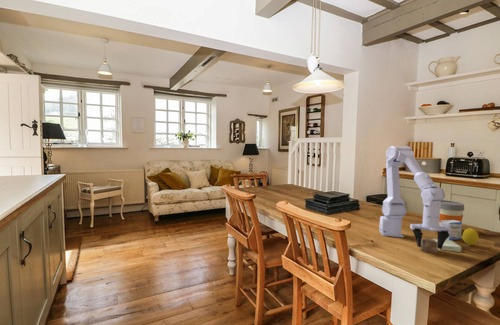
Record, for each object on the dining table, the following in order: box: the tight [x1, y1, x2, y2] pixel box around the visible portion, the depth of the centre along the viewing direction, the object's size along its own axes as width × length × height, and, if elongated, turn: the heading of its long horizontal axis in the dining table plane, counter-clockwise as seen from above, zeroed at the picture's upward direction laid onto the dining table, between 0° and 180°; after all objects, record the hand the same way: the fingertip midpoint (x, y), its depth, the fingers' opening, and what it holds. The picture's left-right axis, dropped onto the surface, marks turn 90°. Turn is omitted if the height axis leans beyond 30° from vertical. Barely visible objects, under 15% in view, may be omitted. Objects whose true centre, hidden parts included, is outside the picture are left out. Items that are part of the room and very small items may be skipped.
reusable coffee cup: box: [439, 199, 465, 226], centre depth 136 cm, size 12×13×15 cm
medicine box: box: [441, 220, 463, 241], centre depth 124 cm, size 8×4×9 cm, turn 105°
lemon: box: [461, 227, 480, 247], centre depth 115 cm, size 6×6×8 cm
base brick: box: [432, 238, 462, 253], centre depth 113 cm, size 8×8×2 cm
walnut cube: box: [420, 237, 439, 254], centre depth 109 cm, size 4×4×4 cm
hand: (428, 247), depth 109 cm, fingers open, 7 cm apart
